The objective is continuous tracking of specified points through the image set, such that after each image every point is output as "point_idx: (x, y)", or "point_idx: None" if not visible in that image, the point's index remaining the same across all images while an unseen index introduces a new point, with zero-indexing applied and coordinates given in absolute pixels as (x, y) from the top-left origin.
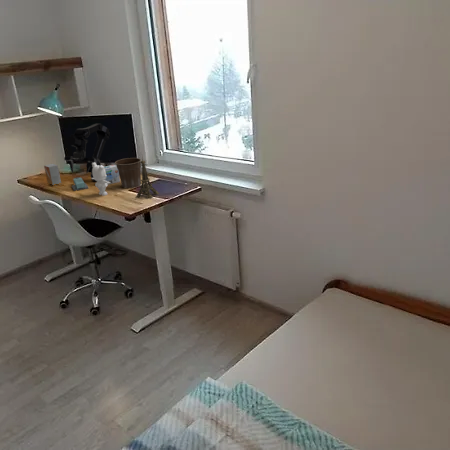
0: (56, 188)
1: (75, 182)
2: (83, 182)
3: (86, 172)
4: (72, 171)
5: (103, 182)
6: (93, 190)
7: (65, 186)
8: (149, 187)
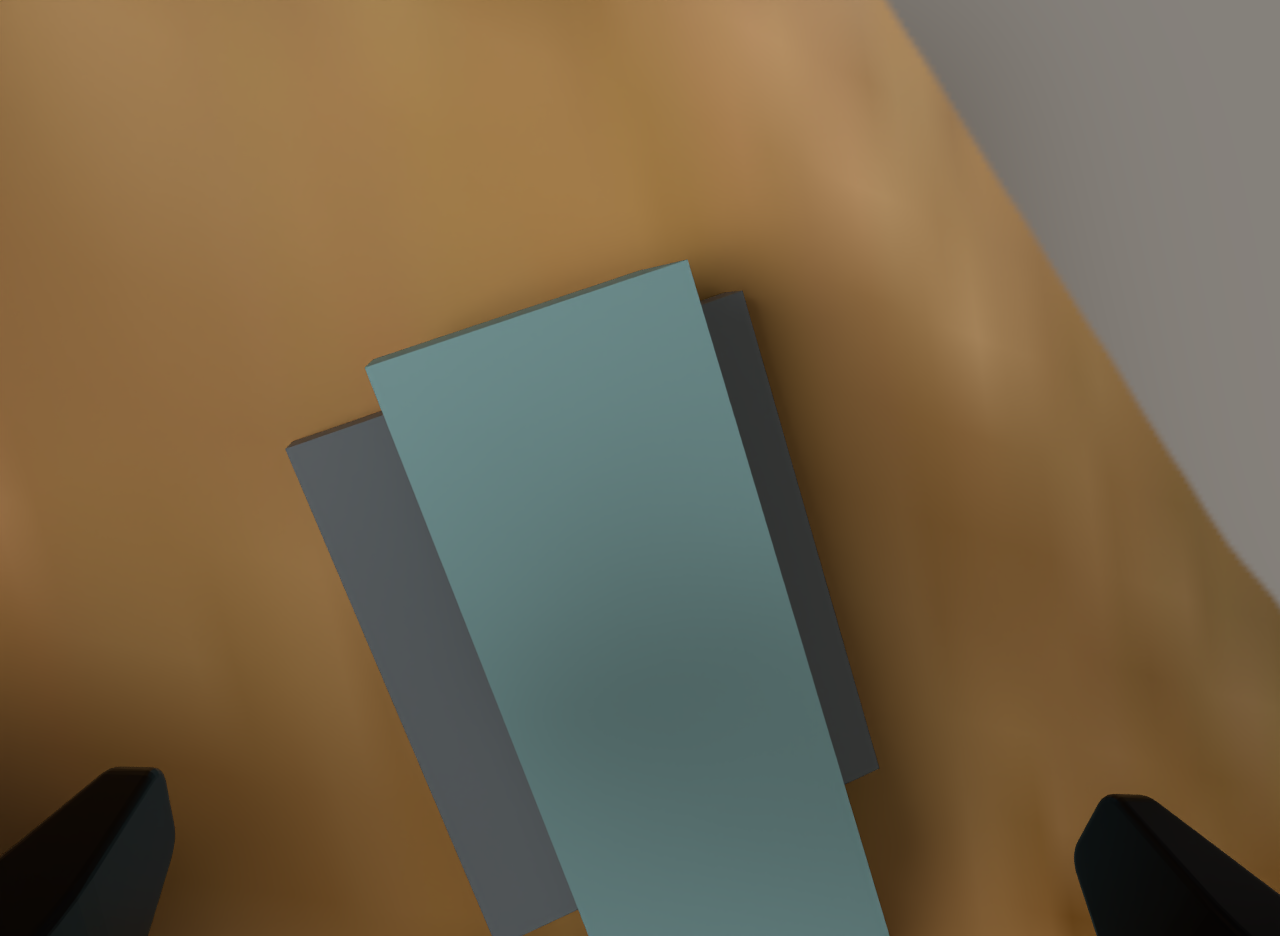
0: (1202, 696)
1: (764, 520)
2: (419, 415)
3: (130, 795)
4: (1135, 836)
5: None
6: (25, 129)
7: (1024, 830)
8: None
